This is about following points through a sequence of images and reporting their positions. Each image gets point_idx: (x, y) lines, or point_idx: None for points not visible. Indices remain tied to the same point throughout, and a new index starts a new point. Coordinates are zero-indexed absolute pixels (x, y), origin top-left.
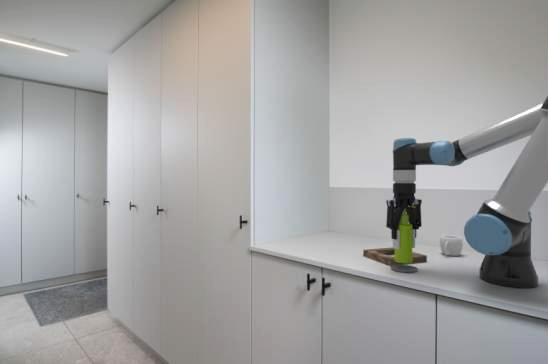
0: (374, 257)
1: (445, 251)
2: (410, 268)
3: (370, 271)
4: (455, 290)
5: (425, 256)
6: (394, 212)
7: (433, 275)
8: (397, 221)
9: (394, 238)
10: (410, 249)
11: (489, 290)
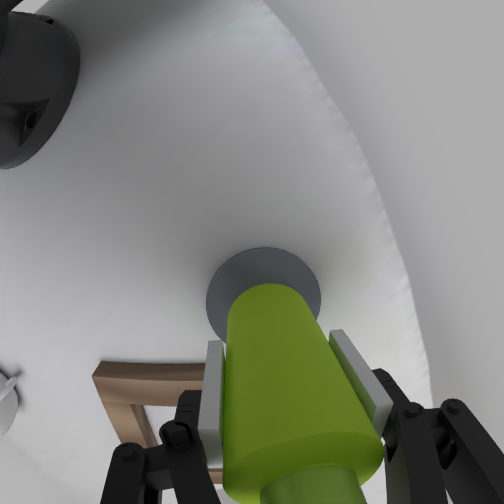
0: None
1: (13, 383)
2: (244, 288)
3: (400, 307)
4: (266, 24)
5: (98, 375)
6: (499, 501)
7: (200, 189)
8: (432, 457)
9: (383, 372)
10: (266, 315)
11: (154, 6)
